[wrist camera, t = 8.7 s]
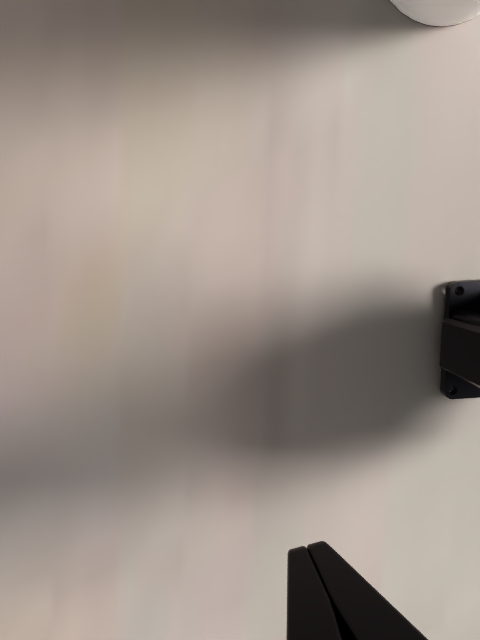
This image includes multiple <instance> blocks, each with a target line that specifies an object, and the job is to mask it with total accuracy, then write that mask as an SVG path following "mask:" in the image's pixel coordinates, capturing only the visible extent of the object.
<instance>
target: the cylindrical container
mask: <svg viewBox="0 0 480 640" xmlns="http://www.w3.org/2000/svg"><path fill="white" fill-rule="evenodd" d="M390 1H391V2H392V3H393V4H394V5H395V6H396V7H397V8H398V9H399V10H400V11H401V12H402V13H404V14H405V15H407V16H408V17H410V18H411V19H413V20H415V21H418V22H421V23H423V24H426V25H433V26H450V25H457V24H460V23H463V22H465V21H468V20H471V19H472V18H474V17H476V16H477V15H479V14H480V0H390Z"/></svg>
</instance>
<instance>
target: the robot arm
mask: <svg viewBox="0 0 480 640" xmlns="http://www.w3.org/2000/svg"><path fill="white" fill-rule="evenodd" d="M457 287H459V293H458V294H455V289H456V288H457ZM440 366H441V384H440V390H441V393H442V394H443V395H444V396H446V397H448V398H449V399H463V398H478V397H480V280H463V281H453V282H451V283H449V284H448V286H447V287H446V294H445V312H444V321H443V322H442V333H441V352H440ZM452 386H453V390H452V391H451V392H449V389H450V388H451V387H452ZM287 640H428V639H427V638H426V637H425V636H424V635H423V634H422V633H421V632H420V631H419V630H418V629H416V628H415V627H414V626H413V625H412V624H411V623H410V622H409V621H408V620H407V619H406V618H405V617H404V616H403V615H402V614H401V613H400V612H399V611H398V610H397V609H395V608H394V607H393V606H392V605H391V604H390V603H389V602H388V601H387V600H386V599H385V598H384V597H383V596H382V595H381V594H380V593H379V592H378V591H377V590H376V589H375V588H373V587H372V586H371V585H370V584H369V583H368V582H367V581H366V580H365V579H364V578H363V577H362V576H361V575H360V574H359V573H358V572H357V571H356V570H355V569H354V568H352V567H351V566H350V565H349V564H348V563H347V562H346V561H345V560H344V559H343V558H342V557H341V556H340V555H339V554H338V553H337V552H336V551H335V550H334V549H333V548H332V547H330V546H329V545H328V544H327V543H326V542H324V541H320V542H316V543H313V544H309V545H308V546H307V548H306V547H304V546H301V547H298V548H294V549H290V550H289V551H288V573H287Z"/></svg>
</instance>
